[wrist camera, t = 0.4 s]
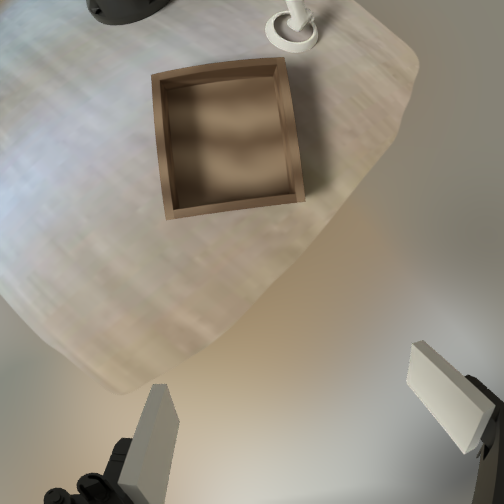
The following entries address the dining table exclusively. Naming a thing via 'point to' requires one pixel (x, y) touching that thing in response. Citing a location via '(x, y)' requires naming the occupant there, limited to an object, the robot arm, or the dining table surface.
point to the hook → (293, 27)
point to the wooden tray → (226, 137)
